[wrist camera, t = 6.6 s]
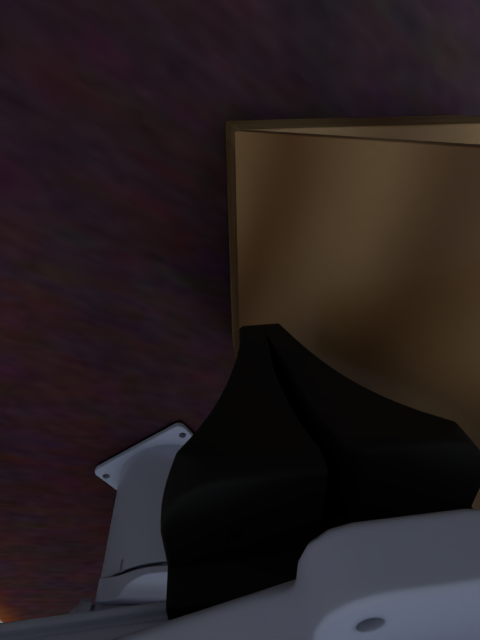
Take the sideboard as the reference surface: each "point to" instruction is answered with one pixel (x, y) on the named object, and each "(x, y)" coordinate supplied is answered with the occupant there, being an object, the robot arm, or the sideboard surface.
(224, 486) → the robot arm
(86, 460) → the sideboard surface
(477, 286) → the tea box lid
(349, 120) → the tea box
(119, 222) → the sideboard surface
